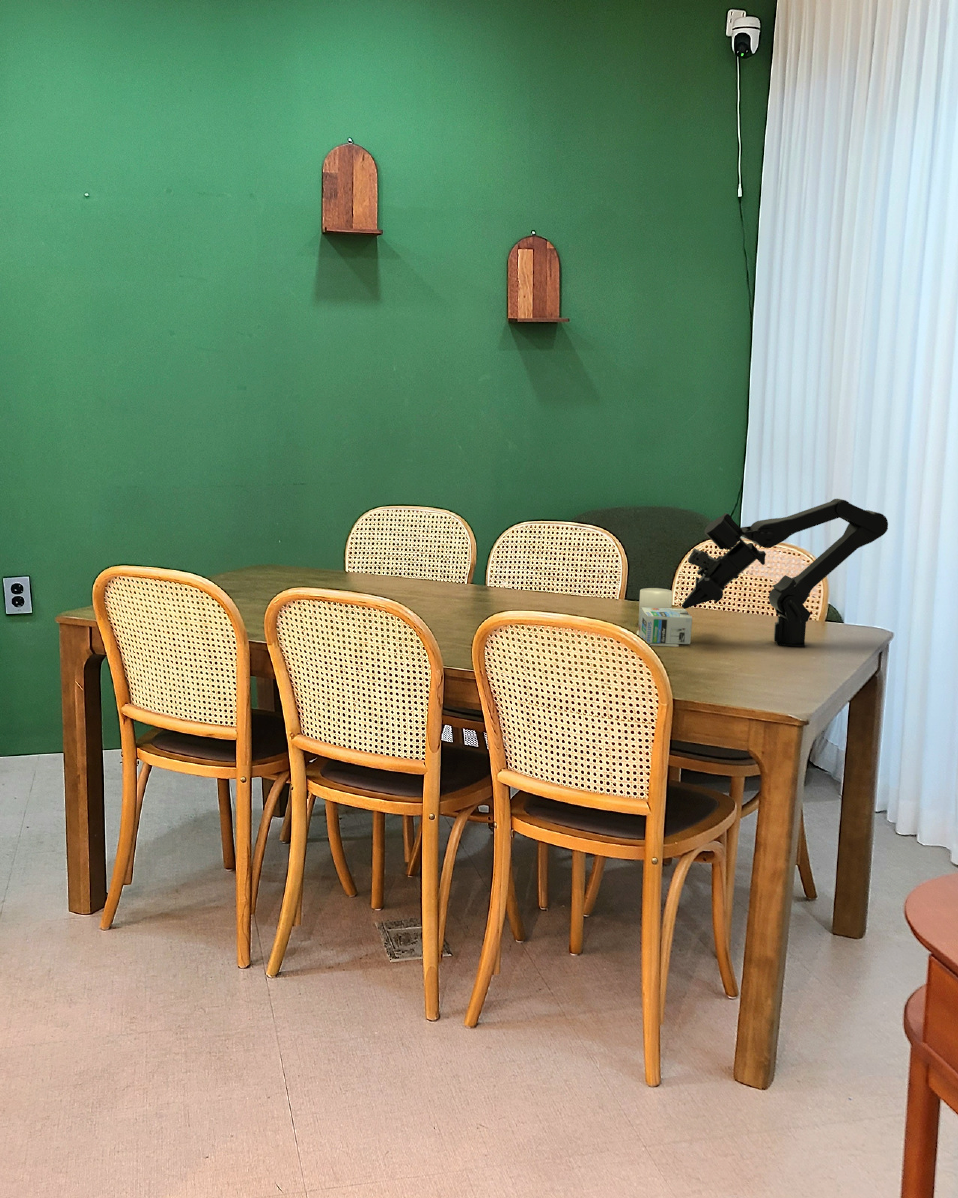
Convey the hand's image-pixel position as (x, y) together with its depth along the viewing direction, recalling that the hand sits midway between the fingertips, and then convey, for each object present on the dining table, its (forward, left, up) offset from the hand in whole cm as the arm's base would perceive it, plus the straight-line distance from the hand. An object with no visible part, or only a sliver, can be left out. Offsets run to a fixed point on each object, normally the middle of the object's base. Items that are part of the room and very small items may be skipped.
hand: (682, 607), depth 259 cm
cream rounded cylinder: (+7, -16, -8) cm, 19 cm away
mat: (+6, 0, -8) cm, 10 cm away
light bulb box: (-2, +1, -4) cm, 5 cm away
